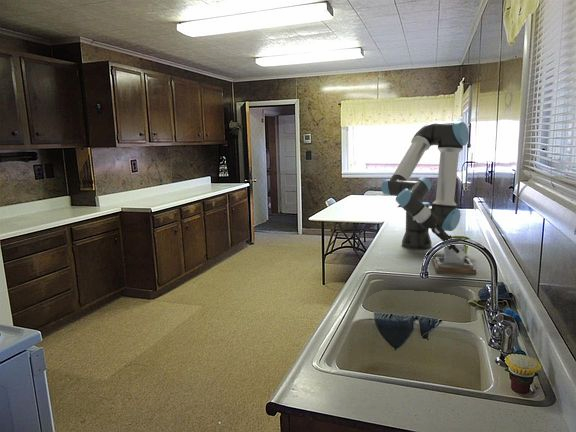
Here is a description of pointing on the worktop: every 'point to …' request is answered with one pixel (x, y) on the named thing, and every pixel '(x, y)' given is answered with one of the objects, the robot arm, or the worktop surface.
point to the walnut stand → (453, 266)
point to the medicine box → (453, 256)
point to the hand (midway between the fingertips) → (461, 253)
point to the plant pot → (463, 245)
